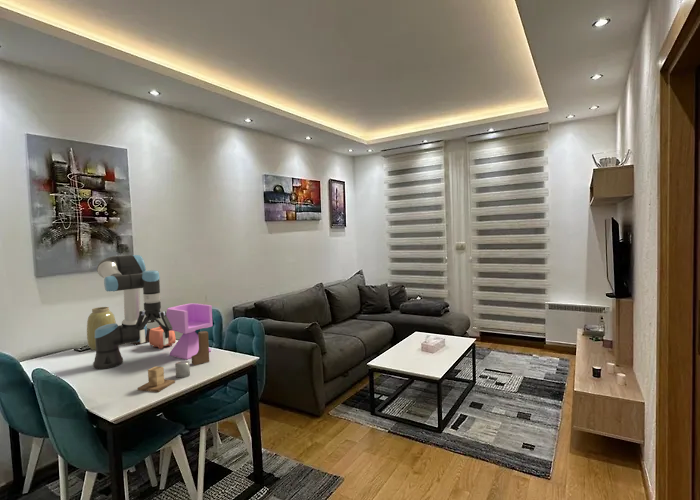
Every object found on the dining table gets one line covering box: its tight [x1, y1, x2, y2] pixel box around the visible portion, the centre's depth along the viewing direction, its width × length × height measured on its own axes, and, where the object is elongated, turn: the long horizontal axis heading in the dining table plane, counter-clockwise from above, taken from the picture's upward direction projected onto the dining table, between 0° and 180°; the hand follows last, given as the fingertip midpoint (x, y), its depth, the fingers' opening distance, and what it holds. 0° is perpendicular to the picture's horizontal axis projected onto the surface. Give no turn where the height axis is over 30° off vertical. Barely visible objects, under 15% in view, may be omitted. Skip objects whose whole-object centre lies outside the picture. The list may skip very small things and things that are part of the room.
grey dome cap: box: [174, 360, 191, 379], centre depth 212 cm, size 7×7×7 cm
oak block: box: [147, 366, 165, 386], centre depth 198 cm, size 5×5×8 cm
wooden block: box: [191, 330, 210, 366], centre depth 232 cm, size 9×4×18 cm, turn 130°
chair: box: [166, 302, 214, 361], centre depth 249 cm, size 20×20×30 cm
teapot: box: [148, 325, 177, 350], centre depth 268 cm, size 22×13×14 cm, turn 56°
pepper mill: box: [130, 320, 156, 346], centre depth 279 cm, size 16×11×18 cm
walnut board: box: [137, 378, 176, 393], centre depth 199 cm, size 12×12×1 cm
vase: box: [86, 306, 117, 351], centre depth 267 cm, size 17×17×27 cm
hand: (154, 343), depth 198 cm, fingers open, 13 cm apart
